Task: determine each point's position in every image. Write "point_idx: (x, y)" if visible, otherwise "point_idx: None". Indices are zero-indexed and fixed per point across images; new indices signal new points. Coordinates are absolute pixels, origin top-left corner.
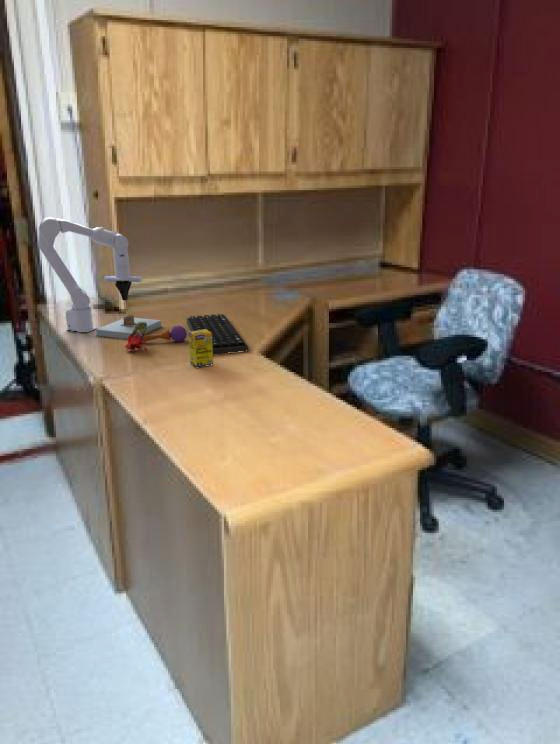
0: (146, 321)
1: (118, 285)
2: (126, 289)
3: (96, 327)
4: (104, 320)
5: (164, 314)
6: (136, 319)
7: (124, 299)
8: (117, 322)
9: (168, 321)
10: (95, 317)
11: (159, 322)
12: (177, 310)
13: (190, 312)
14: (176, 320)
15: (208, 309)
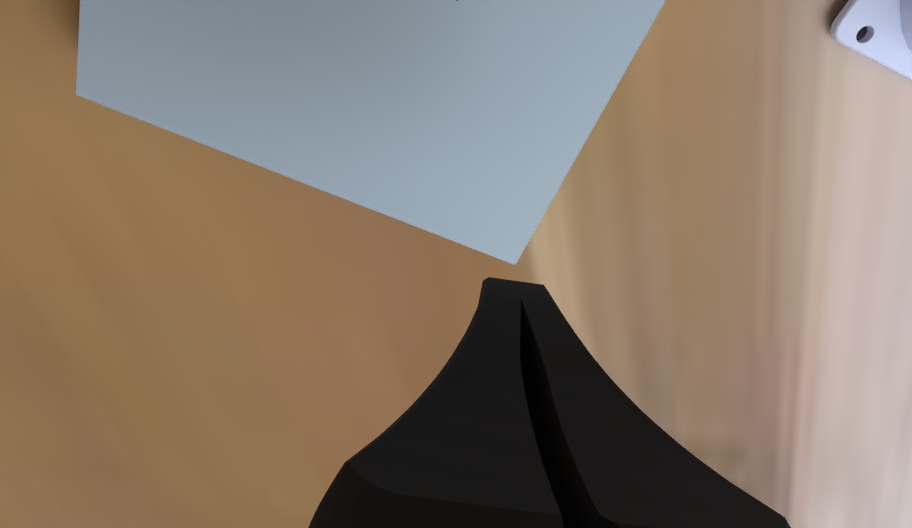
0: (229, 49)
1: (677, 507)
2: (419, 400)
3: (857, 6)
4: (745, 329)
5: (270, 444)
6: (385, 155)
7: (509, 287)
8: (597, 18)
9: (141, 258)
10: (822, 415)
11: (89, 58)
12: (217, 517)
13: (99, 472)
14: (86, 284)
15: (16, 519)
